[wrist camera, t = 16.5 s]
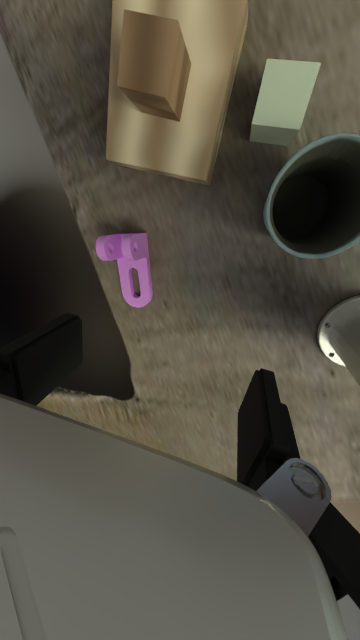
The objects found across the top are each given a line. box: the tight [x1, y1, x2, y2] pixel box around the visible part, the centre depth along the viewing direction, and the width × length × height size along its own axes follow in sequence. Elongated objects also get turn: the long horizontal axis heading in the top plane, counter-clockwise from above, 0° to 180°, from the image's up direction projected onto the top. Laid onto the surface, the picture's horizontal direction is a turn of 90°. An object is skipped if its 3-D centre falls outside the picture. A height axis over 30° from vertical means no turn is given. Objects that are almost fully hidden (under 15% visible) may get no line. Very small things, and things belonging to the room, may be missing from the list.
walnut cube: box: [117, 9, 191, 122], centre depth 23 cm, size 5×5×6 cm
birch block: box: [106, 0, 248, 185], centre depth 28 cm, size 14×16×5 cm
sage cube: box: [250, 59, 321, 146], centre depth 25 cm, size 5×5×6 cm
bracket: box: [96, 233, 153, 308], centre depth 37 cm, size 13×6×7 cm, turn 3°
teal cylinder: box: [263, 133, 360, 259], centre depth 26 cm, size 10×10×12 cm
